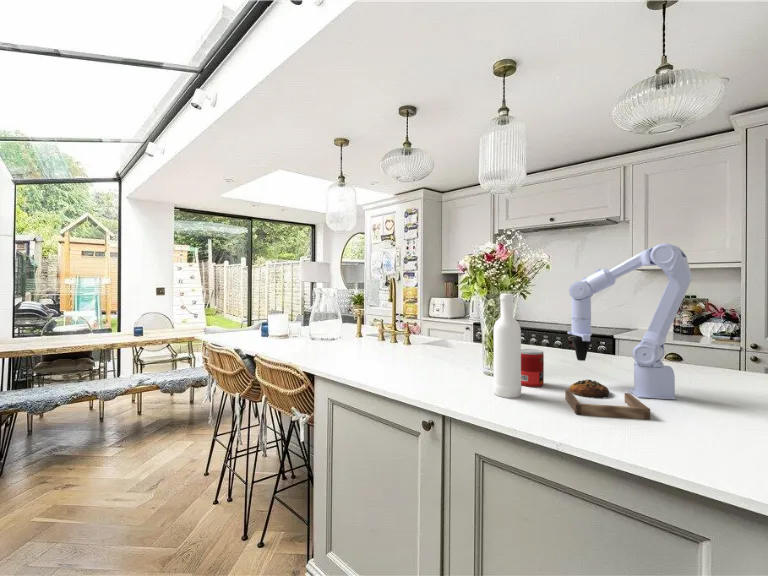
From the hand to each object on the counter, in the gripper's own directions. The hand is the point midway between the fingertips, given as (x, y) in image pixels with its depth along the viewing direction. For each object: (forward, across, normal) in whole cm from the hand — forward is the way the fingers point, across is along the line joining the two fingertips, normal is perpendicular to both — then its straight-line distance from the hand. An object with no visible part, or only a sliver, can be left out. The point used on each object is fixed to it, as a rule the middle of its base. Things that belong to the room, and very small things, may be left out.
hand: (581, 360), depth 129 cm
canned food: (+8, +4, -16) cm, 18 cm away
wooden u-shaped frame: (+8, +26, 0) cm, 27 cm away
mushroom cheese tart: (+8, +10, 0) cm, 13 cm away
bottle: (+8, +18, -24) cm, 31 cm away
